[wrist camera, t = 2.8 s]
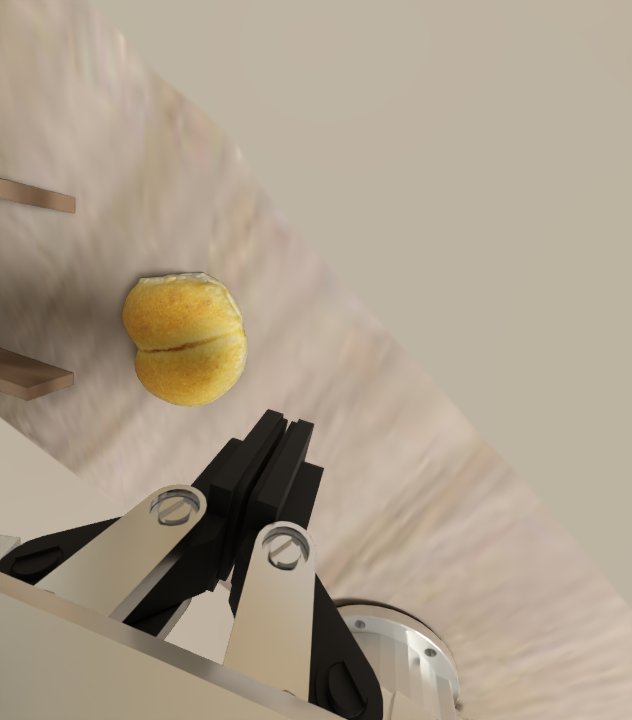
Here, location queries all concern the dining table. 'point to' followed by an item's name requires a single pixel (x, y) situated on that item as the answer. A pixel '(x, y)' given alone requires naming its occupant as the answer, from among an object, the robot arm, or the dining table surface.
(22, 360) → the brown u-shaped frame
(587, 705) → the dining table surface
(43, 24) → the dining table surface
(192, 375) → the bread roll
